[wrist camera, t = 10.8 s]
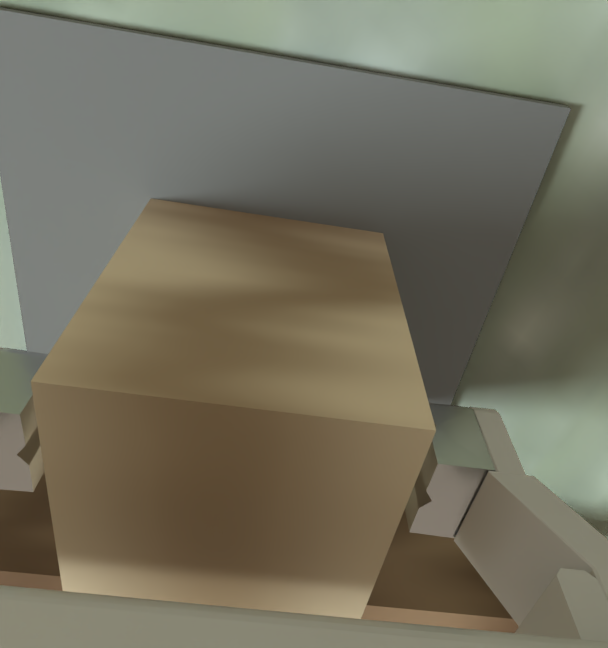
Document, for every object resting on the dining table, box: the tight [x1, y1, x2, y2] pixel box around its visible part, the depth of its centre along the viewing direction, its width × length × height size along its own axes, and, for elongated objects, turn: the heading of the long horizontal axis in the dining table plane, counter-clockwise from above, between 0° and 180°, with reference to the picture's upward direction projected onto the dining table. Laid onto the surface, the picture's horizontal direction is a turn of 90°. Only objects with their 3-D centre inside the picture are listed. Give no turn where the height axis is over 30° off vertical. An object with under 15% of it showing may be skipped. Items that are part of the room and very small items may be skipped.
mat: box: [0, 7, 571, 405], centre depth 13 cm, size 11×11×1 cm
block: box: [31, 199, 436, 619], centre depth 11 cm, size 5×5×6 cm
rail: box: [0, 472, 519, 633], centre depth 16 cm, size 18×1×4 cm, turn 81°
